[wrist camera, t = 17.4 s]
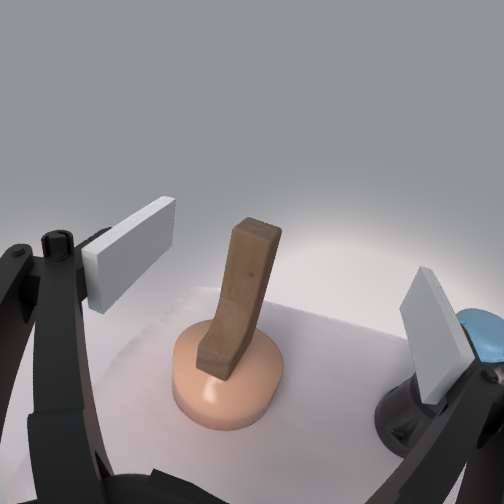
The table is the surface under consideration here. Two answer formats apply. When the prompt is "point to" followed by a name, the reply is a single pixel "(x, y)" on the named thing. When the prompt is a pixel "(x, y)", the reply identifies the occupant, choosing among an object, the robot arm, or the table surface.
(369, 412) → the table surface
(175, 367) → the peach disc
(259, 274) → the wooden block
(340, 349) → the table surface
